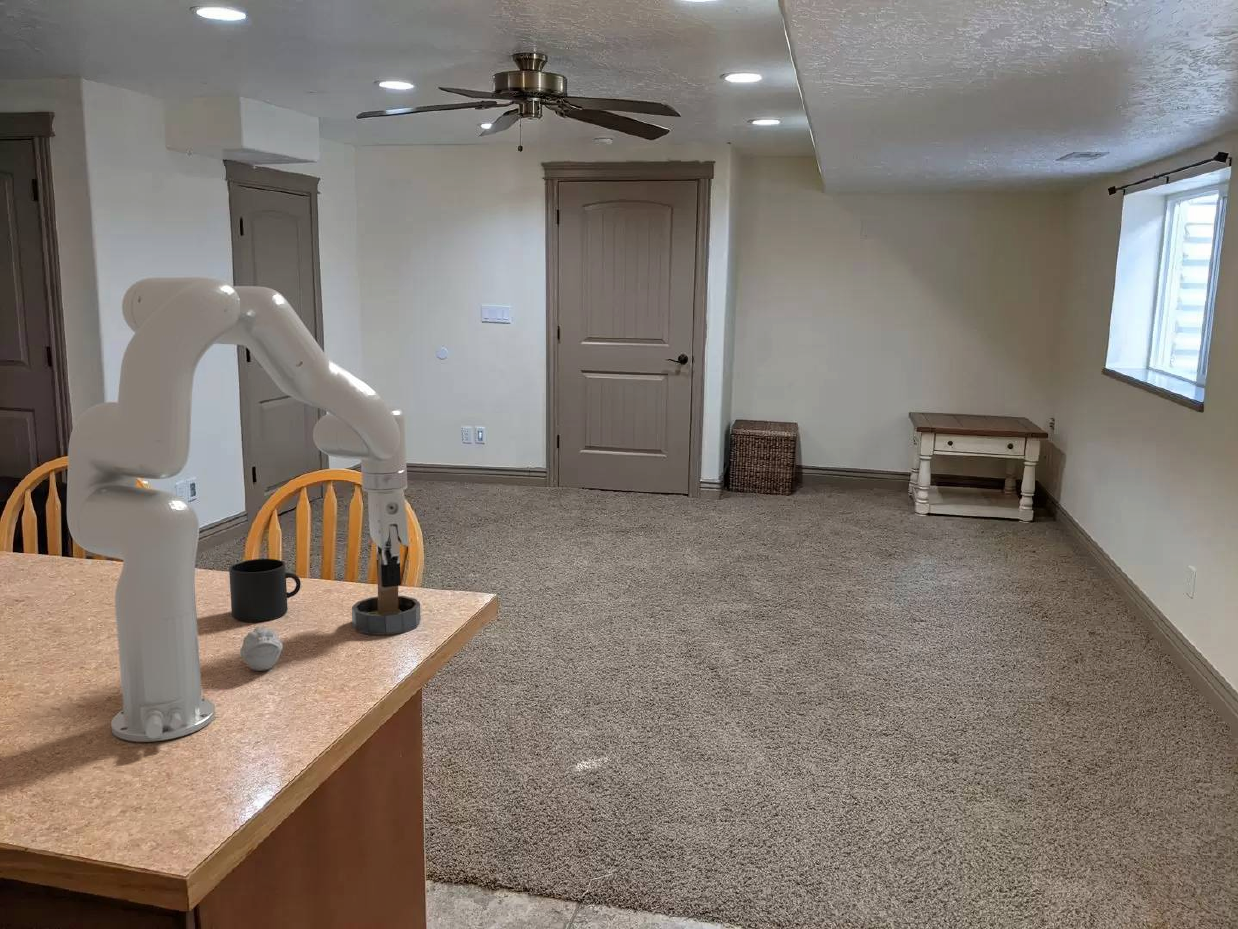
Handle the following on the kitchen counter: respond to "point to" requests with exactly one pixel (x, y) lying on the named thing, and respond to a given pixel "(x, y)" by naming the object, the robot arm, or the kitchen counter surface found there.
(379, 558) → the brown rectangular bar
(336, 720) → the kitchen counter surface
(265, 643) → the frog figurine
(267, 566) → the mug
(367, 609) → the dark grey round tray
